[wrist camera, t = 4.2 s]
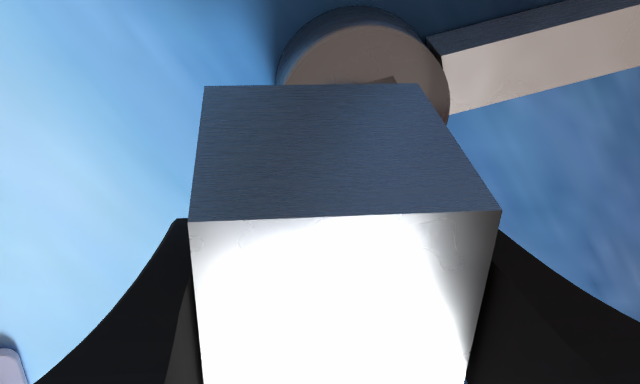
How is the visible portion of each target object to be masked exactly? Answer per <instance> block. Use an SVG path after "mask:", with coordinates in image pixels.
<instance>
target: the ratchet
mask: <svg viewBox="0 0 640 384" xmlns="http://www.w3.org/2000/svg"><path fill="white" fill-rule="evenodd" d="M426 44H427V47H426V45H425V44H424V43H423V42H422V41H421V39H420V38H419V37H418V36H417V34H416V33H415V32H414V31H413V29H412V28H411V27H409V26H408V25H407V24H406V23H405V22H404V21H403V20H401V19H400V18H399V17H397V16H395V15H393V14H391V13H389V12H387V11H384V10H381V9H378V8H373V7H367V6H348V7H343V8H338V9H334V10H331V11H328V12H326V13H324V14H322V15H320V16H318V17H316V18H314V19H313V20H311V21H310V22H308V23H307V24H306V25H305V26H303V27H302V28H301V29H300V30H299V31H298V32H297V33H296V34H295V35H294V37H293V38H292V39H291V40H290V42H289V43H288V45H287V46H286V48H285V50H284V52H283V54H282V56H281V59H280V62H279V64H278V68H277V73H276V84H275V85H318V84H391V83H418V84H419V86H420V87H421V89H422V90H423V92H424V93H425V95H426V96H427V98H428V99H429V101H430V102H431V104H432V105H433V107H434V108H435V110H436V111H437V113H438V114H439V116H440V117H441V119H442V120H443V122H444V123H445V125H447V121H448V117H449V115H450V114H454V113H458V112H462V111H466V110H470V109H474V108H478V107H482V106H485V105H489V104H493V103H497V102H501V101H505V100H509V99H513V98H516V97H520V96H524V95H528V94H532V93H536V92H540V91H544V90H548V89H551V88H555V87H559V86H563V85H567V84H571V83H575V82H579V81H583V80H586V79H590V78H594V77H598V76H602V75H606V74H610V73H614V72H617V71H621V70H625V69H629V68H633V67H637V66H640V0H566V1H563V2H559V3H555V4H551V5H547V6H543V7H540V8H536V9H532V10H528V11H524V12H520V13H517V14H513V15H509V16H505V17H501V18H497V19H493V20H490V21H486V22H482V23H478V24H474V25H470V26H467V27H463V28H459V29H455V30H451V31H447V32H444V33H440V34H436V35H432V36H428V37H426Z"/></svg>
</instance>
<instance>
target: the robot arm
mask: <svg viewBox="0 0 640 384" xmlns="http://www.w3.org/2000/svg"><path fill="white" fill-rule="evenodd" d="M465 378H466V380H467V382H468V384H640V322H638V321H636V320H634V319H632V318H631V317H629V316H627V315H625V314H623V313H621V312H619V311H618V310H616V309H614V308H612V307H611V306H609V305H607V304H605V303H604V302H602V301H600V300H598V299H597V298H595V297H593V296H591V295H590V294H588V293H587V292H585V291H583V290H582V289H580V288H579V287H577V286H576V285H574V284H573V283H571V282H570V281H568V280H567V279H565V278H564V277H562V276H561V275H559V274H558V273H556V272H555V271H553V270H552V269H551V268H549V267H548V266H546V265H545V264H544V263H542V262H541V261H539V260H538V259H537V258H535V257H534V256H533V255H531V254H530V253H529V252H527V251H526V250H525V249H523V248H522V247H521V246H520V245H518V244H517V243H516V242H514V241H513V240H512V239H511V238H509V237H508V236H507V235H505V234H504V233H503V232H502V231H500V230H499V229H498V232H497V236H496V241H495V245H494V250H493V254H492V259H491V263H490V267H489V272H488V276H487V281H486V285H485V290H484V294H483V299H482V303H481V307H480V312H479V316H478V321H477V325H476V330H475V334H474V338H473V343H472V347H471V352H470V356H469V361H468V365H467V370H466V374H465ZM0 384H28V383H27V379H26V376H25V373H24V370H23V367H22V364H21V360H20V357H19V355H18V354H17V353H16V352H15V351H14V350H11V349H7V348H1V349H0ZM34 384H204V380H203V370H202V360H201V350H200V340H199V330H198V320H197V310H196V301H195V291H194V281H193V271H192V261H191V251H190V241H189V231H188V218H179V219H176V220H175V221H174V222H173V223H172V224H171V226H170V228H169V230H168V231H167V233H166V235H165V237H164V238H163V240H162V242H161V243H160V245H159V247H158V248H157V250H156V251H155V253H154V254H153V256H152V257H151V259H150V260H149V262H148V263H147V265H146V266H145V267H144V269H143V270H142V272H141V273H140V274H139V276H138V277H137V279H136V280H135V281H134V283H133V284H132V285H131V287H130V288H129V289H128V290H127V292H126V293H125V294H124V295H123V296H122V298H121V299H120V300H119V301H118V303H117V304H116V305H115V306H114V308H113V309H112V310H111V311H110V312H109V313H108V314H107V316H106V317H105V318H104V319H103V320H102V321H101V322H100V323H99V324H98V325H97V327H96V328H95V329H94V330H93V331H92V332H91V333H90V334H89V335H88V336H87V337H86V338H85V339H84V340H83V341H82V342H81V343H80V344H79V345H78V346H77V347H76V348H74V349H73V350H72V351H71V352H70V353H69V354H68V355H67V356H66V357H65V358H63V359H62V360H61V361H60V362H59V363H58V364H57V365H56V366H55V367H53V368H52V369H51V370H50V371H49V372H48V373H46V374H45V375H44V376H43V377H42V378H40V379H39V380H38V381H37V382H35V383H34Z"/></svg>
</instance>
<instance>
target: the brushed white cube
mask: <svg viewBox="0 0 640 384" xmlns="http://www.w3.org/2000/svg"><path fill="white" fill-rule="evenodd" d="M501 214H502V209H501V207H500V206H499V204H498V203H497V201H496V200H495V198H494V197H493V195H492V194H491V192H490V191H489V189H488V188H487V186H486V185H485V183H484V182H483V180H482V179H481V177H480V176H479V174H478V173H477V171H476V170H475V168H474V167H473V165H472V164H471V162H470V161H469V159H468V158H467V156H466V155H465V153H464V152H463V150H462V149H461V147H460V146H459V144H458V143H457V141H456V140H455V138H454V137H453V135H452V134H451V132H450V131H449V129H448V128H447V126H446V125H445V123H444V122H443V120H442V119H441V117H440V116H439V114H438V113H437V111H436V110H435V108H434V107H433V105H432V104H431V102H430V101H429V99H428V98H427V96H426V95H425V93H424V92H423V90H422V89H421V87H420V86H419V84H418V83H391V84H318V85H244V86H204V94H203V102H202V110H201V118H200V126H199V134H198V142H197V150H196V159H195V167H194V175H193V183H192V191H191V199H190V207H189V215H188V231H189V241H190V251H191V261H192V271H193V281H194V291H195V301H196V310H197V320H198V330H199V340H200V350H201V360H202V370H203V380H204V384H463V383H464V378H465V374H466V370H467V365H468V361H469V356H470V352H471V347H472V343H473V338H474V334H475V330H476V325H477V321H478V316H479V312H480V307H481V303H482V299H483V294H484V290H485V285H486V281H487V276H488V272H489V267H490V263H491V259H492V254H493V250H494V245H495V241H496V236H497V232H498V227H499V223H500V219H501Z"/></svg>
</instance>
